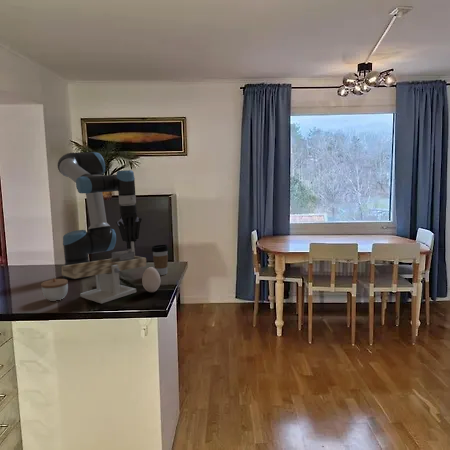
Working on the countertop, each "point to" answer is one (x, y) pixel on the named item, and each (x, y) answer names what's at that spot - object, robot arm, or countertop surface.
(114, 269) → the stand
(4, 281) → the countertop surface
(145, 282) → the egg
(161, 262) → the coffee cup
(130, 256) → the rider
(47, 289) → the lidded jar
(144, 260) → the beam
